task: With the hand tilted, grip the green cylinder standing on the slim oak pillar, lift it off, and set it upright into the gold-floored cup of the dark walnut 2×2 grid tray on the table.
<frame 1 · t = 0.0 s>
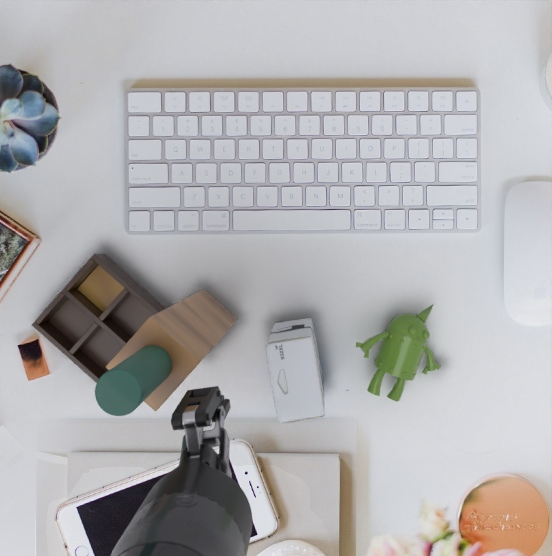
hand: (225, 451, 50), 18 cm above the table, tool pointing down, fingers open, 8 cm apart
pillar: (205, 321, 68), on the table
green cylinder: (152, 364, 46), point 22 cm above the table, touching pillar
ink box: (298, 354, 68), on the table
character figure: (398, 343, 68), on the table
grid: (108, 317, 68), on the table
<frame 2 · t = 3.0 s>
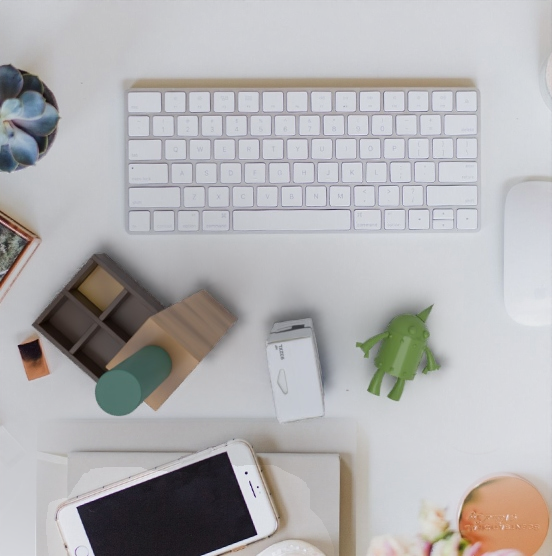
nothing on the table moved.
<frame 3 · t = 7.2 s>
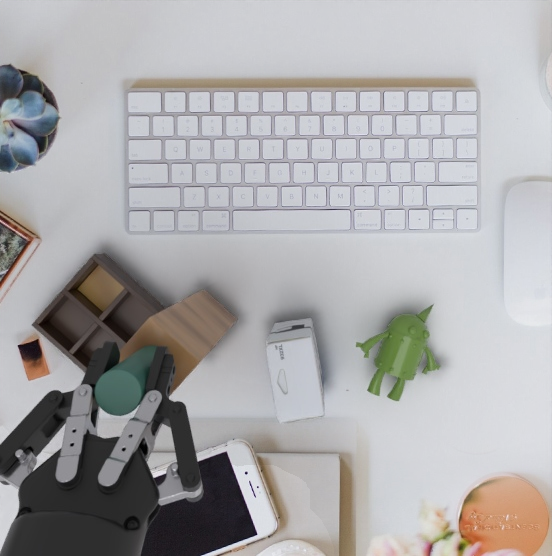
hand: (138, 350, 42), 26 cm above the table, tool tilted 45°, fingers closed on green cylinder, 3 cm apart
green cylinder: (152, 364, 46), point 22 cm above the table, touching gripper, pillar
everything else where it was.
when the fingers open (5 cm above the table, at t = 16.2 s): green cylinder stays where it is, resting on grid.
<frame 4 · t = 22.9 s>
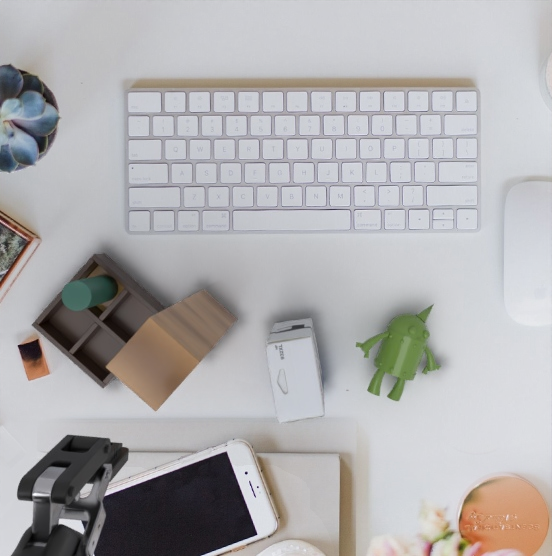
hand: (109, 513, 38), 30 cm above the table, tool pointing down, fingers open, 8 cm apart
green cylinder: (104, 288, 67), point 1 cm above the table, touching grid
everything else where it was.
at the end: green cylinder 0.1 cm from the target spot in the grid, point 0.8 cm above the grid's base; green cylinder tilted 0°; the gripper is holding nothing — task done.
